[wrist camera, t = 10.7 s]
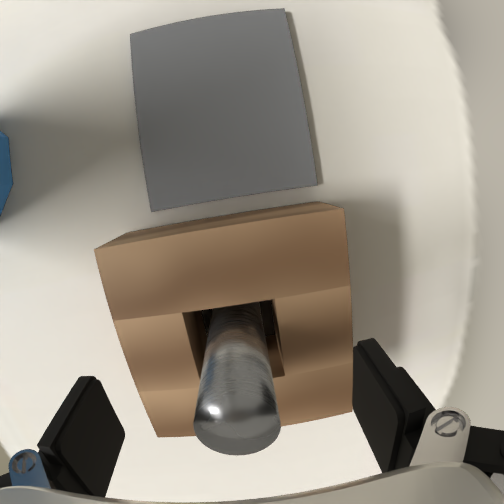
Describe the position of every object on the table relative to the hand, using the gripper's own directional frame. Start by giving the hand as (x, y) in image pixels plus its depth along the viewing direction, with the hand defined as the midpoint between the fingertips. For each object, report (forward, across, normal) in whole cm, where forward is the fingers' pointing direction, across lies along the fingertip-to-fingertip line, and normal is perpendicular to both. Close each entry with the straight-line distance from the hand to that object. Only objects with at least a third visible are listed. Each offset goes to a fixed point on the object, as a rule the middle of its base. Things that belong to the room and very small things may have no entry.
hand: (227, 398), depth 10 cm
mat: (+11, -1, -12) cm, 16 cm away
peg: (+10, 0, +1) cm, 10 cm away
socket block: (+10, 0, +1) cm, 10 cm away
